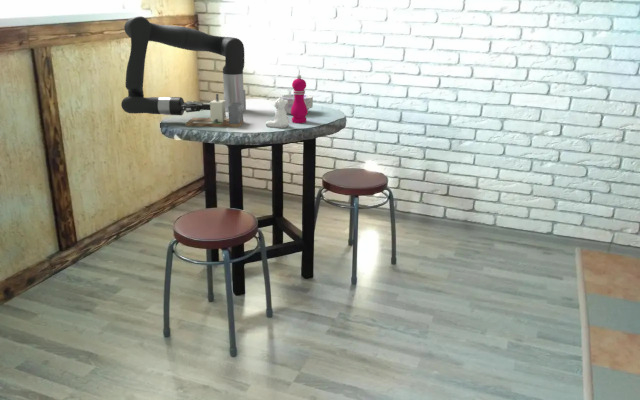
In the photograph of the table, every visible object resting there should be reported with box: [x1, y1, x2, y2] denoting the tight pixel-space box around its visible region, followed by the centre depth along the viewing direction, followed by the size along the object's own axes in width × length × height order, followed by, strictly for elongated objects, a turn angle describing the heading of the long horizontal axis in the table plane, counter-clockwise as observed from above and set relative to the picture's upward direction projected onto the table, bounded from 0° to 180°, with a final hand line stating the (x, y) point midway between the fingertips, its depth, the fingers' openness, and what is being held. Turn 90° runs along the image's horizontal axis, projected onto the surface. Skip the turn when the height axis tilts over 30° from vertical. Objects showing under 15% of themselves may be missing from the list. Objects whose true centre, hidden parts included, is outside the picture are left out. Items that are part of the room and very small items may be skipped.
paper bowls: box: [279, 93, 314, 115], centre depth 253 cm, size 15×15×8 cm
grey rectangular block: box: [228, 103, 244, 124], centre depth 227 cm, size 4×10×7 cm, turn 177°
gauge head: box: [209, 93, 227, 122], centre depth 225 cm, size 5×8×11 cm, turn 177°
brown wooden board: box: [185, 117, 244, 128], centre depth 229 cm, size 22×11×1 cm, turn 87°
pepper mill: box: [290, 74, 309, 124], centre depth 232 cm, size 7×7×20 cm
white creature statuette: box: [265, 97, 290, 129], centre depth 224 cm, size 10×9×12 cm
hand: (211, 107), depth 227 cm, fingers closed
